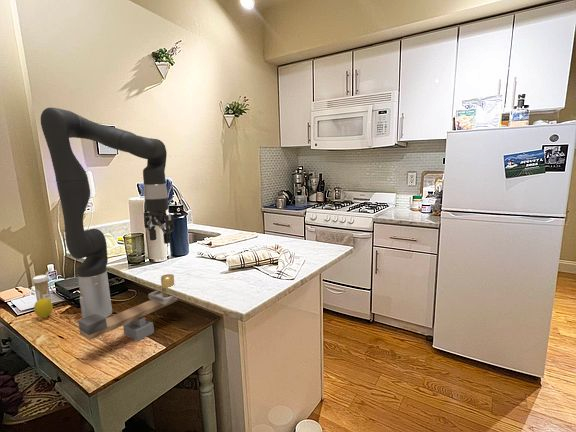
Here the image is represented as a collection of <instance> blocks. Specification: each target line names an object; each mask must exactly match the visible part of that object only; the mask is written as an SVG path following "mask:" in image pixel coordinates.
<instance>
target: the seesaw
mask: <svg viewBox="0 0 576 432" xmlns="http://www.w3.org/2000/svg"><path fill="white" fill-rule="evenodd" d="M158 290H159V289H158ZM158 290H155V291H152V292H149V293H148V299H149V300H148V301H144V302H142V303H140V304H137V305H135V306H132V307H131V308H128V309H126V310H123V311H120V312H118V313H116V314H113V315H110V316H109V317H107V318H104V317H102V316H100V315H98V314H97V313H95V314H93V315H90V316H88V317H85V318H80V319H77V322H78V329H79V334H80V335H81V336H82V337H84V338H86V339H87V340H89V341H91V340H93V339H96V338H98V337H101V336H103V335H104V334H106V333H109V332H112V331H113V330H116V329H118V328H119V327H123V325H125V324H127V323H129V322H131V321H134V320H136V319H138V318H140V317H142V316H144V317H145V316H147V315H149V314H151V313H153V312H157V311H158V310H160V309H162V308H164V307H167V306H169V305H171V304H174V303H175V302H178V301H180V300H179V299H177V298H175V297H174V296H170V297H163V296H162V292H160V291H158Z"/></svg>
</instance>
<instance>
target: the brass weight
mask: <svg viewBox="0 0 576 432" xmlns="http://www.w3.org/2000/svg"><path fill="white" fill-rule="evenodd" d="M160 282H161V283H160V284H161V289H162V296H163V297H170V295H168V294H166V289H167V288H168V287H171V286H173V285H174V286H175V276H174V274H172V273H171V274H169V273H168V274H163V275H161V276H160Z"/></svg>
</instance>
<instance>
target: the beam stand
mask: <svg viewBox="0 0 576 432" xmlns="http://www.w3.org/2000/svg"><path fill="white" fill-rule="evenodd" d="M122 329H123V335H125V336H127V337H129V338H130V339H132V340H134V341H136V342H138V341H141V340H143V339H145V338H146V337H149V336H151V335H152V334H154V333H155V327H154V322H153V321H150V320H147V319H146V317H145V316H142V317H140V318H138V319H136V320H134V321H131V322H129V323H127V324H125V325H122Z"/></svg>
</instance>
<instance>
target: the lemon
mask: <svg viewBox="0 0 576 432" xmlns="http://www.w3.org/2000/svg"><path fill="white" fill-rule="evenodd" d="M34 303H35V304H34V306H33V309H34V310H33V311H34V314H35V315H36V316H37V317H39V318H44V319H46V318H47V317H48V316H50V315H51V314H52V313H53V309H54V307H53V306H54V305H53V302H52V300H51V301H50V300H49V299H46V298H41V299H40V300H38V301H37V300H36V302H34Z"/></svg>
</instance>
